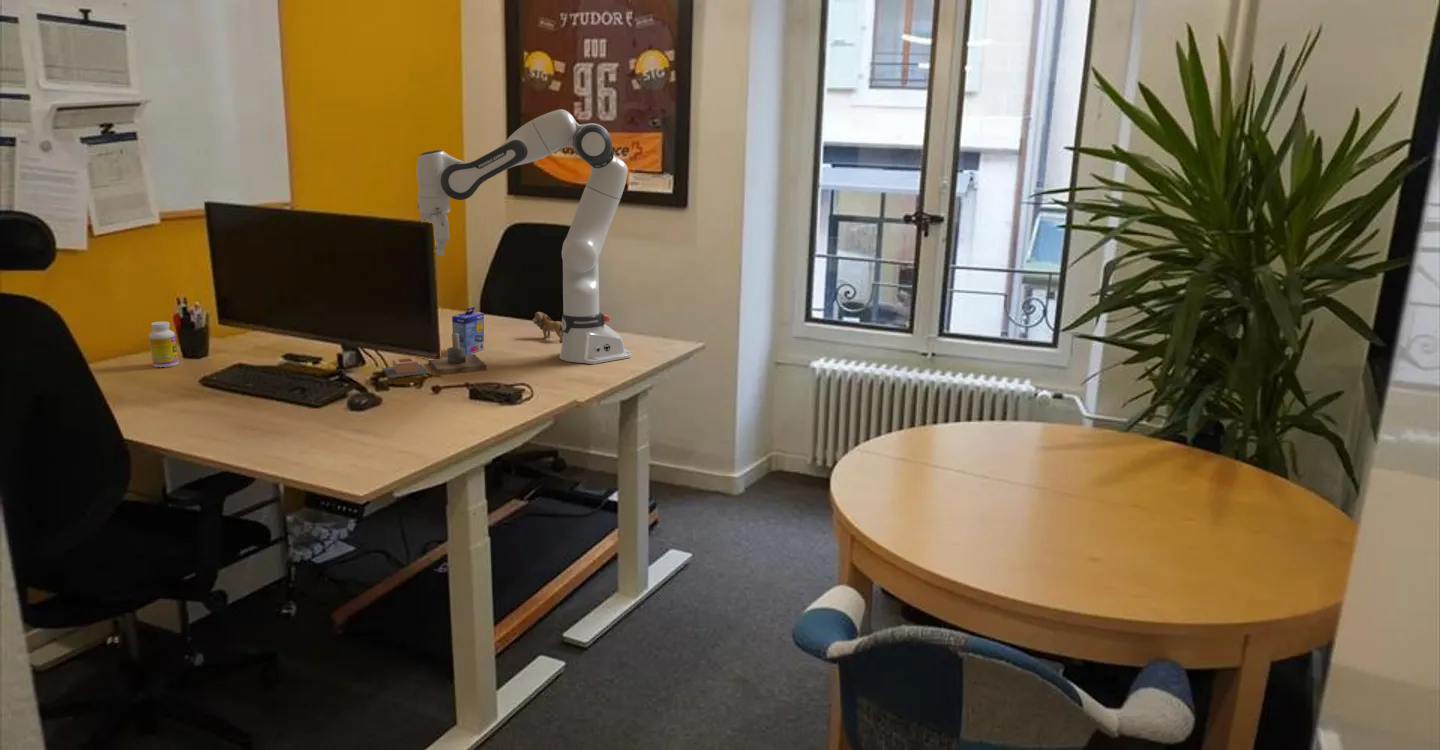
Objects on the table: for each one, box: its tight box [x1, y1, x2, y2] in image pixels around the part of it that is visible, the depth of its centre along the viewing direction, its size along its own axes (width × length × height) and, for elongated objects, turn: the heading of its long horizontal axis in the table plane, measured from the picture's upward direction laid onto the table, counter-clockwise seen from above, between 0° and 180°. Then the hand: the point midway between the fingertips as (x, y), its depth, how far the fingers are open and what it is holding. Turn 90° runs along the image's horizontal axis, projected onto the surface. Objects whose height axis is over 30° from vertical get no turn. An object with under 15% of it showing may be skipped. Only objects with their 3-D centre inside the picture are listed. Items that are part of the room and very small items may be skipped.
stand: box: [427, 333, 487, 376], centre depth 287 cm, size 14×14×10 cm
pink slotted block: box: [392, 356, 419, 374], centre depth 281 cm, size 6×6×3 cm
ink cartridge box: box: [451, 306, 485, 355], centre depth 304 cm, size 10×6×14 cm, turn 157°
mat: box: [382, 363, 430, 379], centre depth 281 cm, size 11×11×1 cm
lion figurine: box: [532, 311, 563, 344], centre depth 323 cm, size 15×5×9 cm, turn 63°
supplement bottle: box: [148, 320, 179, 369], centre depth 281 cm, size 7×7×13 cm
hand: (437, 253), depth 286 cm, fingers open, 8 cm apart
